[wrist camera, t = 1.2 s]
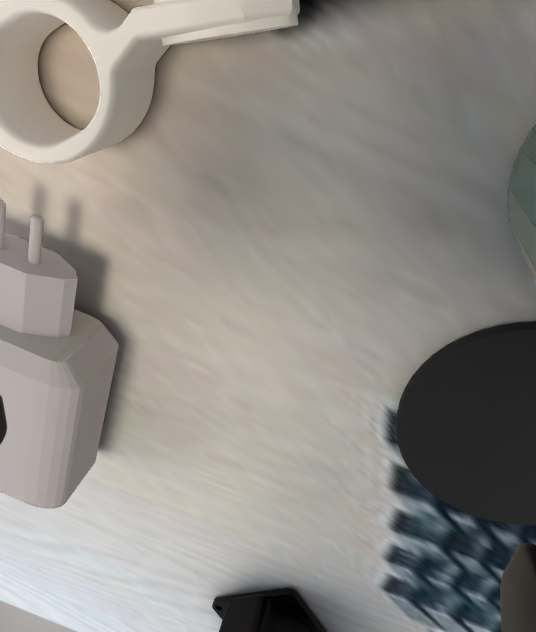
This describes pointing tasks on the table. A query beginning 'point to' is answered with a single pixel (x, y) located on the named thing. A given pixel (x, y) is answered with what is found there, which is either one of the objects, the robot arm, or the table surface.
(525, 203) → the cup
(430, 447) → the coaster
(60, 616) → the table surface
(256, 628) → the robot arm
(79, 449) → the charger
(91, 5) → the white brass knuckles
